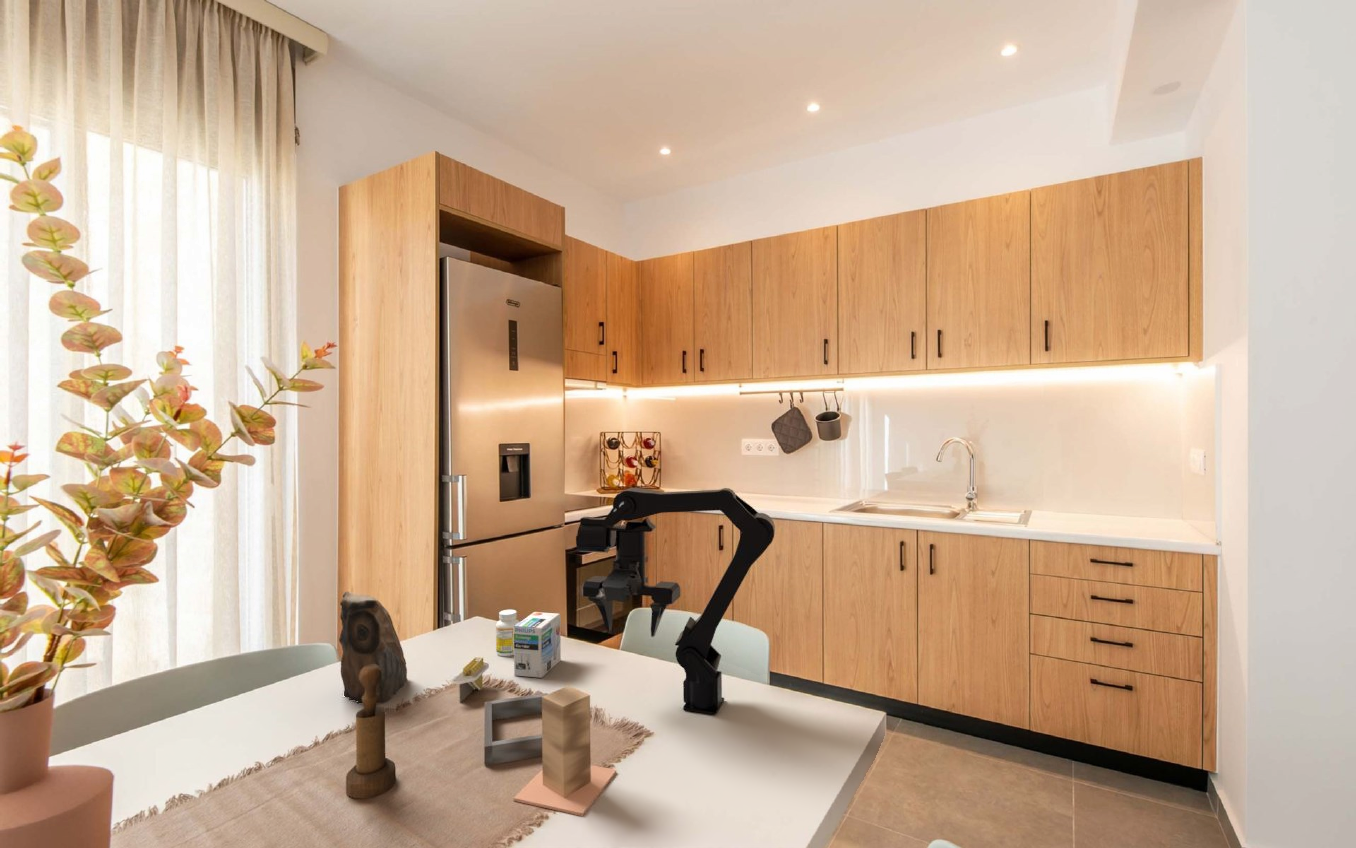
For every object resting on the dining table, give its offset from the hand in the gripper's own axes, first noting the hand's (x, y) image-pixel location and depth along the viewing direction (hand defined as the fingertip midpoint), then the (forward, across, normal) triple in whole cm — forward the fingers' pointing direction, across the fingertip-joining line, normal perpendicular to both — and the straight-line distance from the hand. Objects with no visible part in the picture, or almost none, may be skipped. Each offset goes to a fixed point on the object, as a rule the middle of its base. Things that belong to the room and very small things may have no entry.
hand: (631, 633), depth 118 cm
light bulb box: (+13, -26, +9) cm, 31 cm away
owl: (+14, -51, -11) cm, 54 cm away
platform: (+14, -32, -7) cm, 35 cm away
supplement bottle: (+14, -38, +14) cm, 43 cm away
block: (+13, +2, -29) cm, 31 cm away
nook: (+13, -13, -18) cm, 26 cm away
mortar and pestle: (+14, -26, -38) cm, 48 cm away
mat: (+13, +2, -29) cm, 32 cm away
